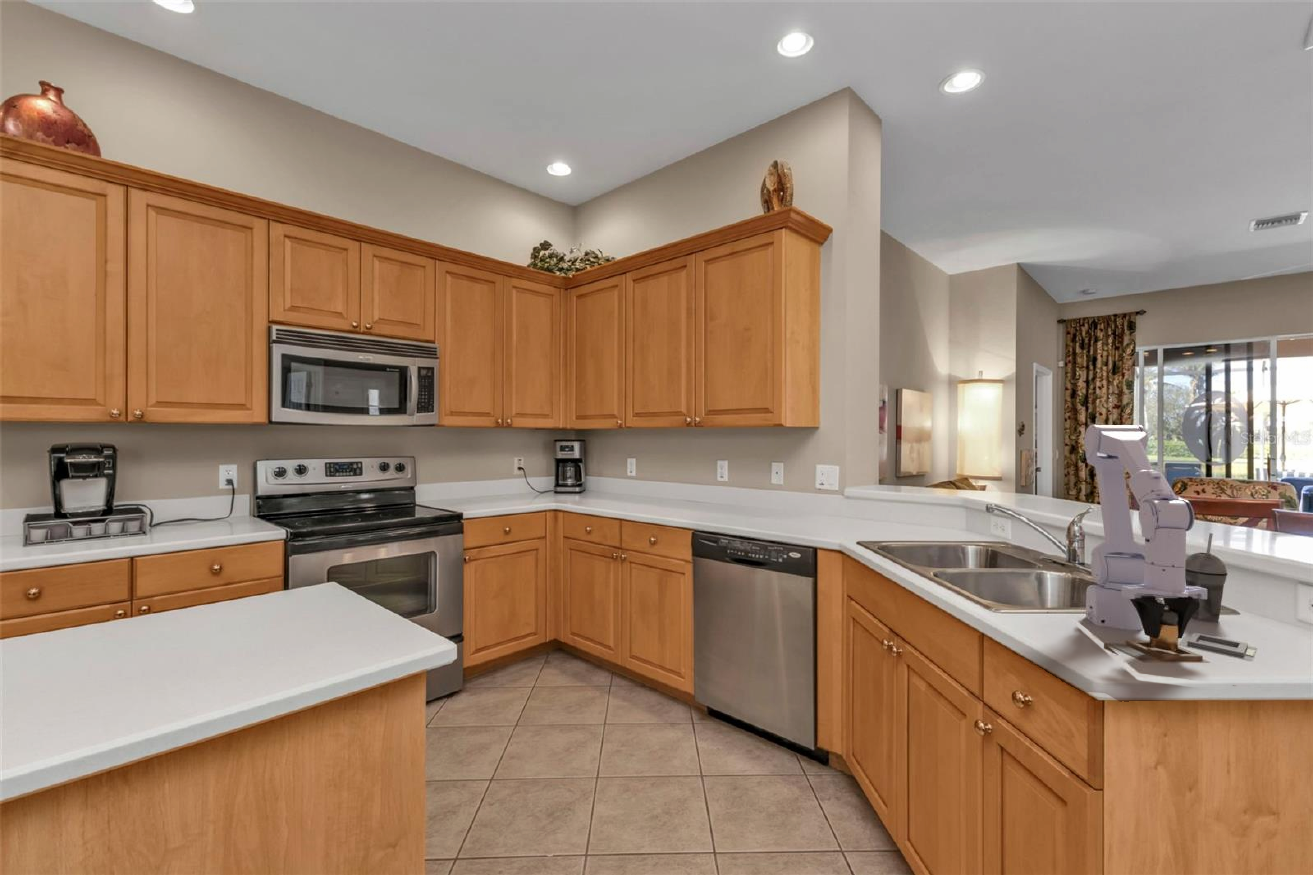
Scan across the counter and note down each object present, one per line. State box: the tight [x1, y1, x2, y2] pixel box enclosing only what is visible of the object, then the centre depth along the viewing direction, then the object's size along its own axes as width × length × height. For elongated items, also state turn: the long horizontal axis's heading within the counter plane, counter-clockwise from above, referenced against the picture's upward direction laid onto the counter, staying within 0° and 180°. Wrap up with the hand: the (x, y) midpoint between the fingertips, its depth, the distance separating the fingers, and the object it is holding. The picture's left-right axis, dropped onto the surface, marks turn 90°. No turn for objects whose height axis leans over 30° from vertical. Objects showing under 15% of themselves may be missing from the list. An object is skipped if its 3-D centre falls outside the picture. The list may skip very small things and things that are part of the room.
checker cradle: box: [1178, 632, 1258, 662], centre depth 110 cm, size 10×10×2 cm
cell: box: [1148, 606, 1179, 651], centre depth 107 cm, size 4×4×8 cm
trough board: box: [1103, 640, 1211, 663], centre depth 107 cm, size 12×9×2 cm
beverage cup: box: [1185, 532, 1228, 623], centre depth 126 cm, size 7×7×20 cm
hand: (1163, 636), depth 107 cm, fingers closed on cell, 4 cm apart
